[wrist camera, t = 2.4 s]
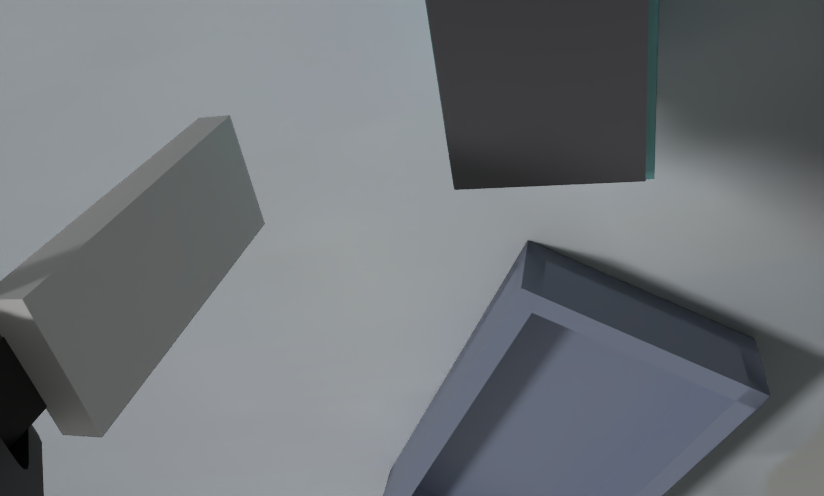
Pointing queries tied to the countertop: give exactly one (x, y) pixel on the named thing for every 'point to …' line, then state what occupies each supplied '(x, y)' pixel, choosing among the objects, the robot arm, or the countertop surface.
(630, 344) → the tray
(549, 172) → the teal-edged grey panel
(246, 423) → the countertop surface
